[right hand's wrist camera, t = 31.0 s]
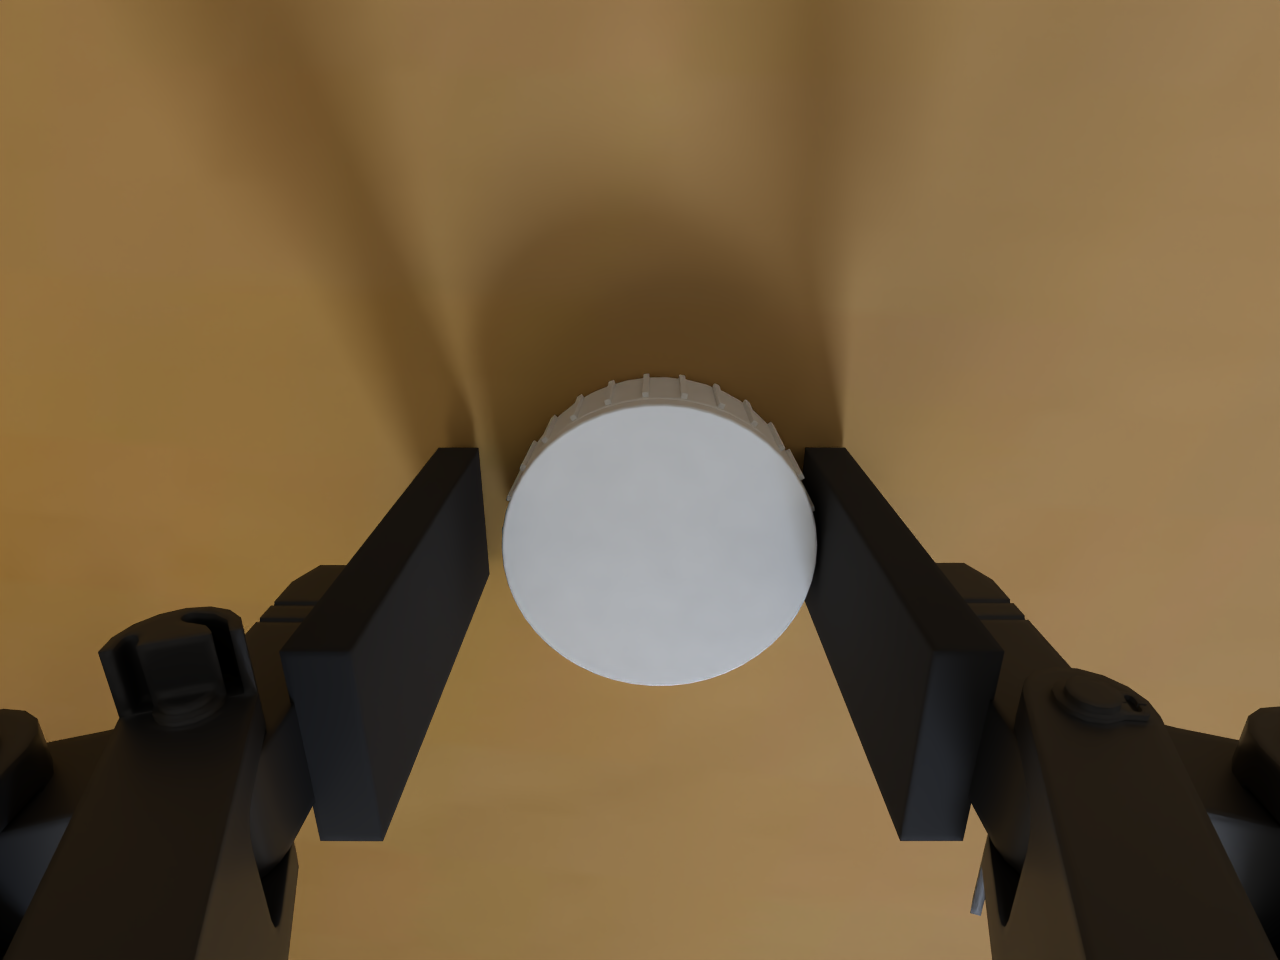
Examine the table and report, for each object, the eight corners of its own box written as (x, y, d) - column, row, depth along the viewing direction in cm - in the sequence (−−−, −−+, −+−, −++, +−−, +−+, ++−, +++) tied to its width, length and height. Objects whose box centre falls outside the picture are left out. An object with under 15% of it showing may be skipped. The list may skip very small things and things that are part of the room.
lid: (495, 384, 14) (471, 413, 12) (800, 358, 13) (822, 385, 12) (537, 641, 16) (522, 698, 14) (803, 624, 15) (821, 680, 14)
